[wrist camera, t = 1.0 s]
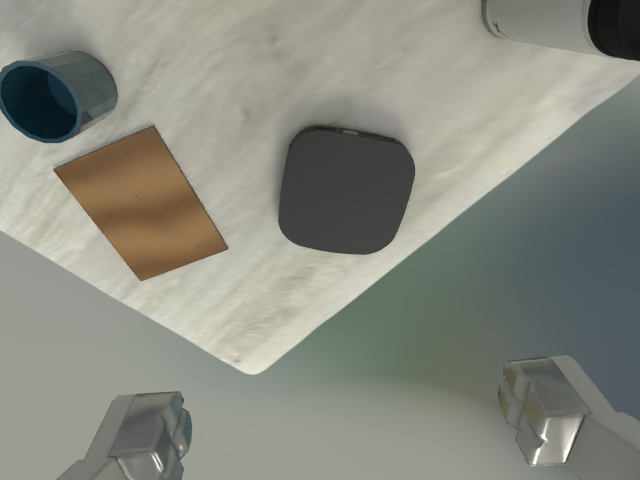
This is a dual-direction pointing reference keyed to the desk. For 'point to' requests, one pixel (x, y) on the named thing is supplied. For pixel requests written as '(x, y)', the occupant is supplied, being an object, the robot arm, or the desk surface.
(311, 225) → the media streaming box
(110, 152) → the brown flat rectangular board
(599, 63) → the desk surface
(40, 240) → the desk surface
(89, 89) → the cup
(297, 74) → the desk surface
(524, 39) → the travel mug
